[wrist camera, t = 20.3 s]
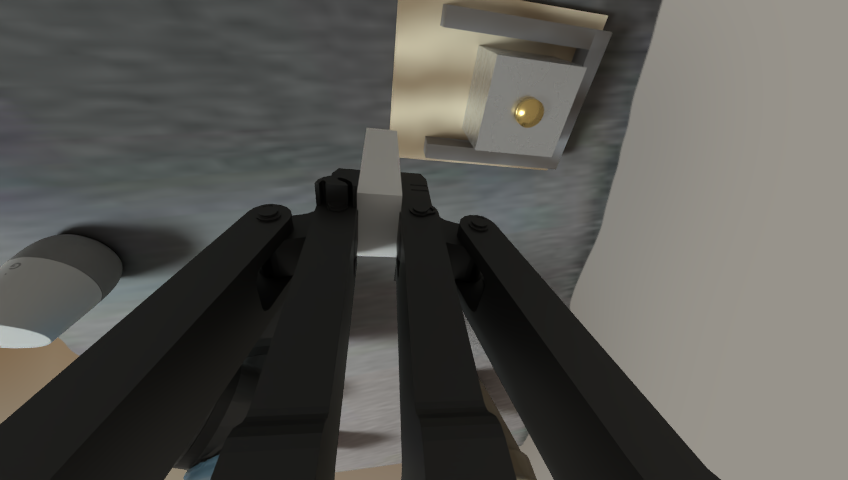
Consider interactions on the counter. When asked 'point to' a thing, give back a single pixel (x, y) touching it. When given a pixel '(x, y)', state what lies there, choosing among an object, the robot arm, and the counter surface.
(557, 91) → the lock block
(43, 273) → the smart speaker
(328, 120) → the counter surface
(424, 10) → the board
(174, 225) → the counter surface
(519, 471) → the plant pot
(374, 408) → the counter surface
